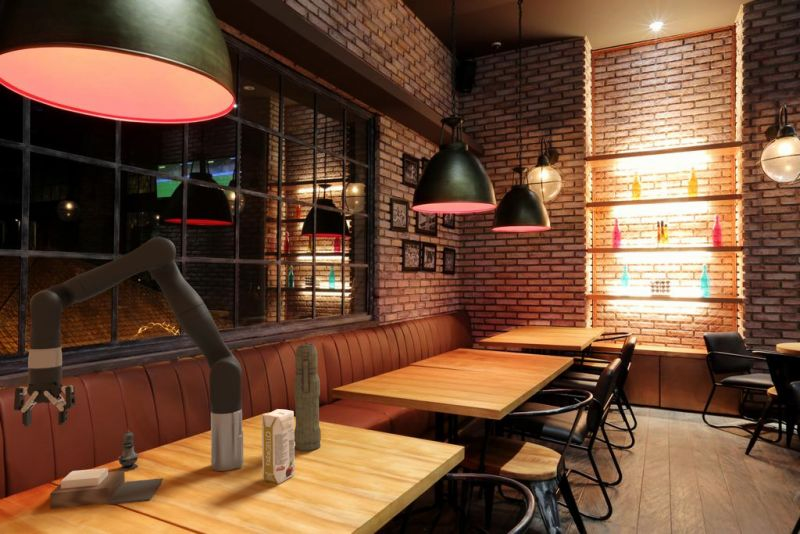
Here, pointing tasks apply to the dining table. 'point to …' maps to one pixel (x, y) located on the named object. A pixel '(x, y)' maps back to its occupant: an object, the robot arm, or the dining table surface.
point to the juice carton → (278, 445)
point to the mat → (136, 491)
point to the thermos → (307, 399)
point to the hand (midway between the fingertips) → (44, 425)
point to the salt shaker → (128, 453)
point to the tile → (84, 478)
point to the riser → (88, 492)
